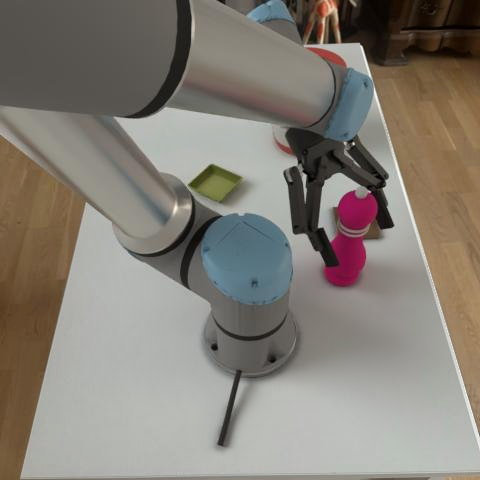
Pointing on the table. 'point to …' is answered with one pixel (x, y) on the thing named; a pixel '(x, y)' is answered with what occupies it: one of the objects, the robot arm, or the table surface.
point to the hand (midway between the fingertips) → (361, 246)
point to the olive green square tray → (215, 182)
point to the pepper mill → (351, 236)
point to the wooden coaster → (370, 234)
